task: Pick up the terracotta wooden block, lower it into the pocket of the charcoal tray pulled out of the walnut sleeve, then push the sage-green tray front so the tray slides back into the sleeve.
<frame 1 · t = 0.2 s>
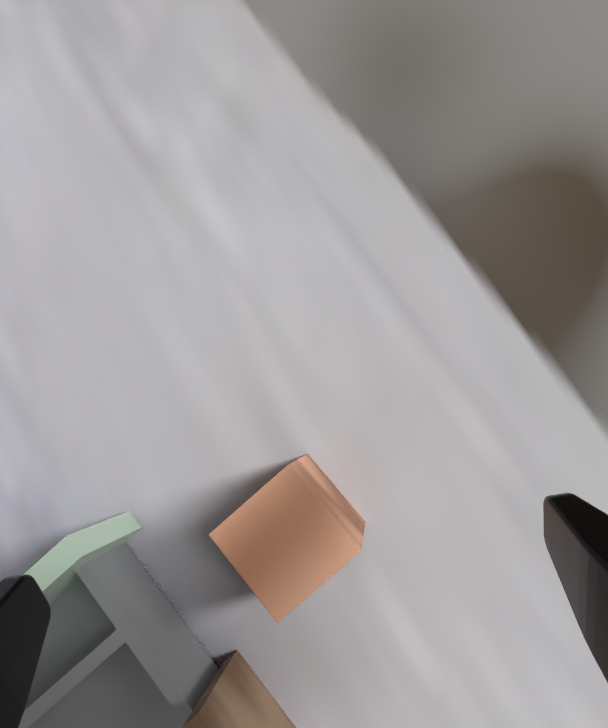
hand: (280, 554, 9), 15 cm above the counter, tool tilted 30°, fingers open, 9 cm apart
block: (303, 515, 24), on the counter
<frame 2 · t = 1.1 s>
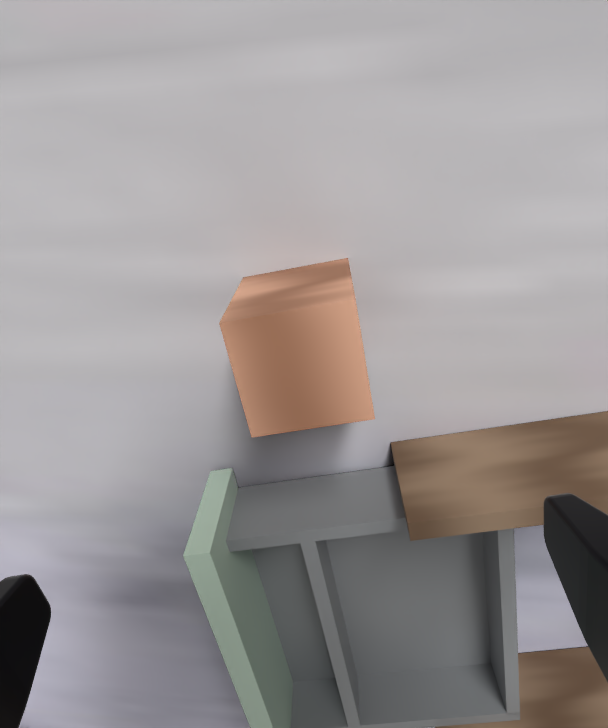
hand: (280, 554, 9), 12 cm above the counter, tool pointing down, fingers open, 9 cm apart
sleeve: (522, 558, 25), on the counter
tray: (373, 623, 23), point 3 cm above the counter, slide at 7.0 cm
block: (305, 317, 20), on the counter
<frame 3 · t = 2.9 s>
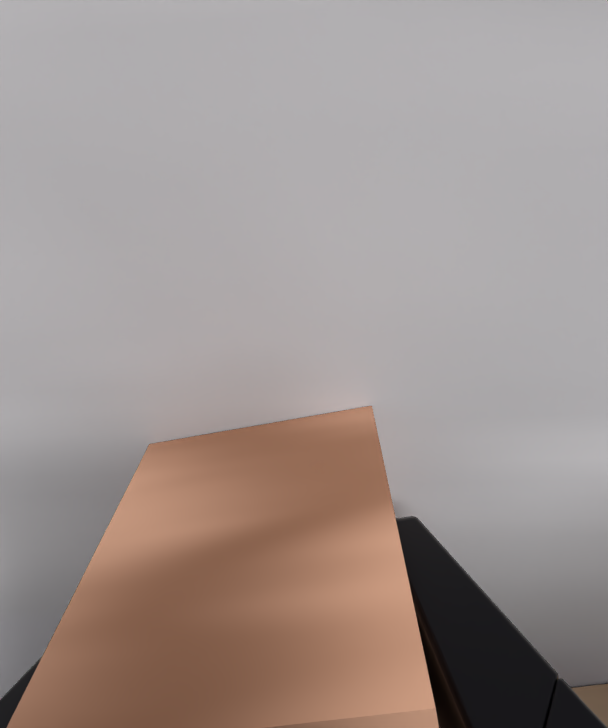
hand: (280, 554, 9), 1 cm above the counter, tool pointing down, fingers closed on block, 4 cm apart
block: (283, 513, 10), on the counter, touching gripper
when the fingers open (3 cm above the counter, at t = 7.4 s): block drops 1 cm, resting on tray.
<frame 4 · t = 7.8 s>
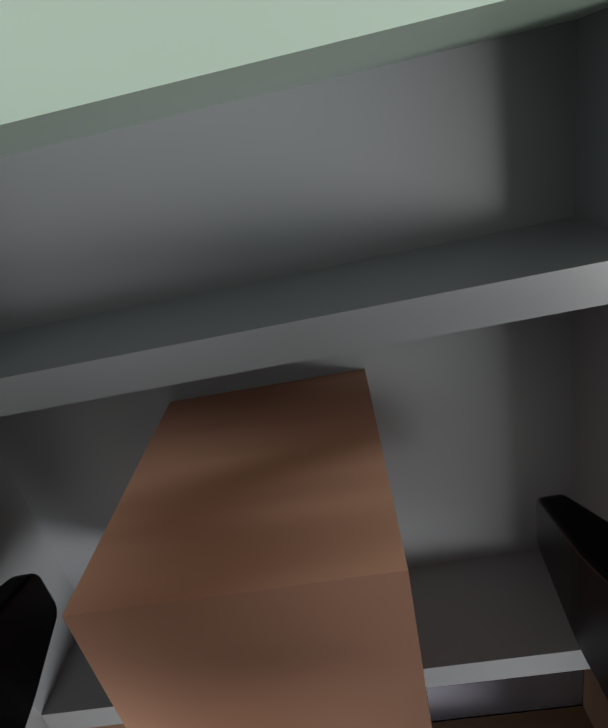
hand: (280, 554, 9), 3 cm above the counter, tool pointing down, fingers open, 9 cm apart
sleeve: (331, 603, 14), on the counter
tray: (256, 434, 9), point 3 cm above the counter, slide at 7.0 cm, touching block
block: (286, 466, 11), point 1 cm above the counter, touching tray
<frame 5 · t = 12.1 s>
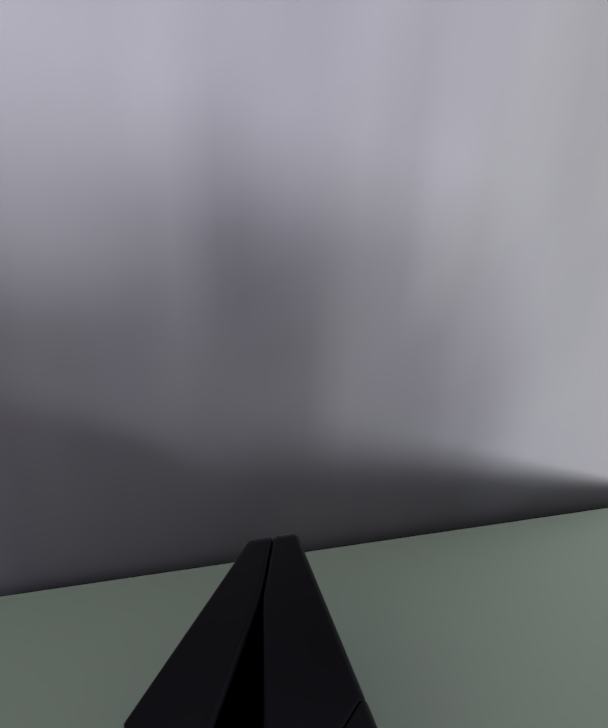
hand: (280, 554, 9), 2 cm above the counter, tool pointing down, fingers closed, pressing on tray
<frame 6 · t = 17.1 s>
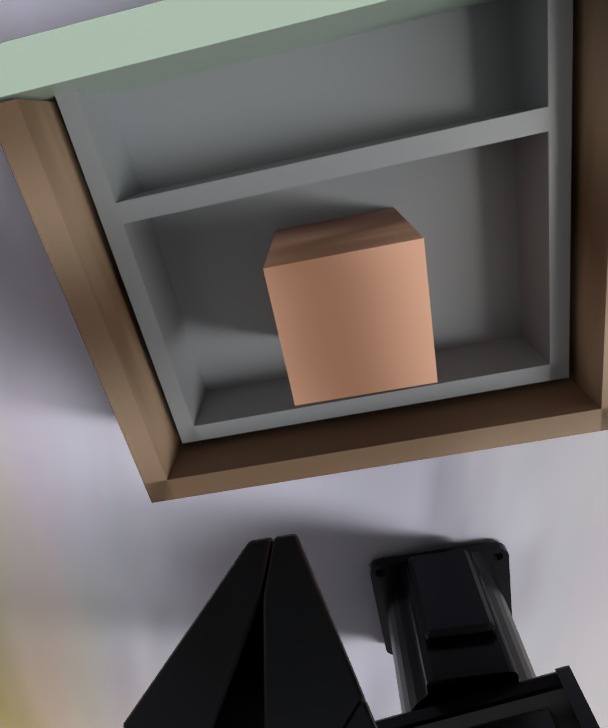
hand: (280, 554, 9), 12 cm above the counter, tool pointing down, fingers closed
sleeve: (334, 228, 18), on the counter
tray: (335, 229, 16), point 3 cm above the counter, slide at 0.0 cm, touching block
block: (343, 276, 18), point 1 cm above the counter, touching tray
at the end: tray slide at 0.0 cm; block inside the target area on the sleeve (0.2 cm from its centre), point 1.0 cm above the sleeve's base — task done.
